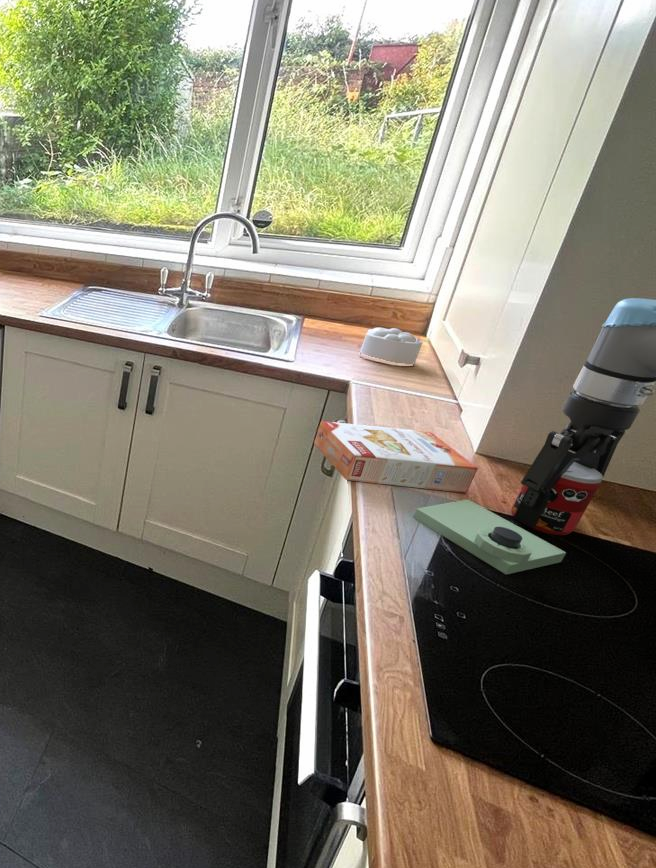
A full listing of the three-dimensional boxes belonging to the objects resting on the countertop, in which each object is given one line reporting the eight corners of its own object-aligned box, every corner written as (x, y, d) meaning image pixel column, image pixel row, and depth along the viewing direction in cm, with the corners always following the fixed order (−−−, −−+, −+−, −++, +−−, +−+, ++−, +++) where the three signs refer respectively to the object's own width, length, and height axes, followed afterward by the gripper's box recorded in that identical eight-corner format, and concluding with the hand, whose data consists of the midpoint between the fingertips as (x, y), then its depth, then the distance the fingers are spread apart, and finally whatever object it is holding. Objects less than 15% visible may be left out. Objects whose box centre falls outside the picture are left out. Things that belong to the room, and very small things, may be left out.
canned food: (499, 513, 101) (526, 458, 96) (526, 504, 103) (553, 451, 99) (555, 541, 94) (586, 484, 90) (582, 531, 97) (614, 475, 93)
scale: (561, 562, 89) (571, 544, 88) (503, 575, 86) (513, 557, 85) (463, 508, 102) (471, 491, 100) (410, 517, 99) (417, 500, 97)
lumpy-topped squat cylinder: (362, 349, 177) (371, 322, 174) (415, 360, 169) (425, 332, 166) (357, 358, 170) (366, 330, 167) (412, 370, 162) (423, 341, 159)
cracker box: (481, 466, 103) (354, 454, 106) (468, 494, 106) (344, 482, 108) (431, 429, 116) (319, 419, 119) (420, 455, 119) (311, 445, 121)
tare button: (523, 547, 87) (528, 538, 87) (507, 551, 87) (512, 541, 86) (499, 534, 90) (503, 525, 90) (484, 537, 89) (488, 528, 89)
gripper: (591, 415, 84) (524, 542, 92) (682, 402, 89) (611, 523, 98) (530, 393, 90) (473, 513, 99) (618, 383, 96) (557, 497, 104)
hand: (541, 518), depth 98 cm, fingers closed on canned food, 8 cm apart
